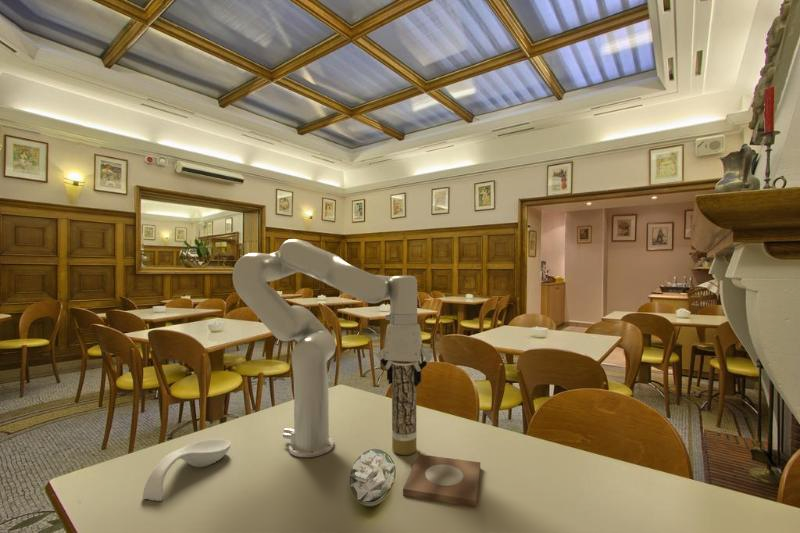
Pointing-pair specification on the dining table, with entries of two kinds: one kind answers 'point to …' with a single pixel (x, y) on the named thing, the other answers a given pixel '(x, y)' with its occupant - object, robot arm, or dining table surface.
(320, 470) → the dining table surface
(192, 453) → the spoon rest
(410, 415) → the bark print can
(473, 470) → the board
